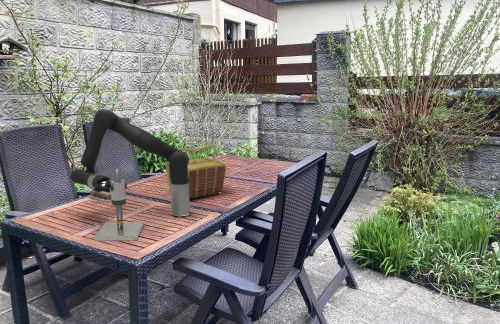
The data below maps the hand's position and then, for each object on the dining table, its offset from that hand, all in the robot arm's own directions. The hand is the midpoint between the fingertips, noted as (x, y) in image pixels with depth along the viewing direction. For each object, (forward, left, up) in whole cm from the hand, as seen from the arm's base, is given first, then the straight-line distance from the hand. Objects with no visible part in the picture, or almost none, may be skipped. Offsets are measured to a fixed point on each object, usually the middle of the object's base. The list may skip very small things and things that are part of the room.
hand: (117, 188), depth 189 cm
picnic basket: (-31, -63, -21) cm, 73 cm away
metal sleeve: (0, 0, -5) cm, 5 cm away
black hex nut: (0, 0, -7) cm, 7 cm away
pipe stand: (0, 0, -21) cm, 21 cm away
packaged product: (+22, -57, -22) cm, 65 cm away
